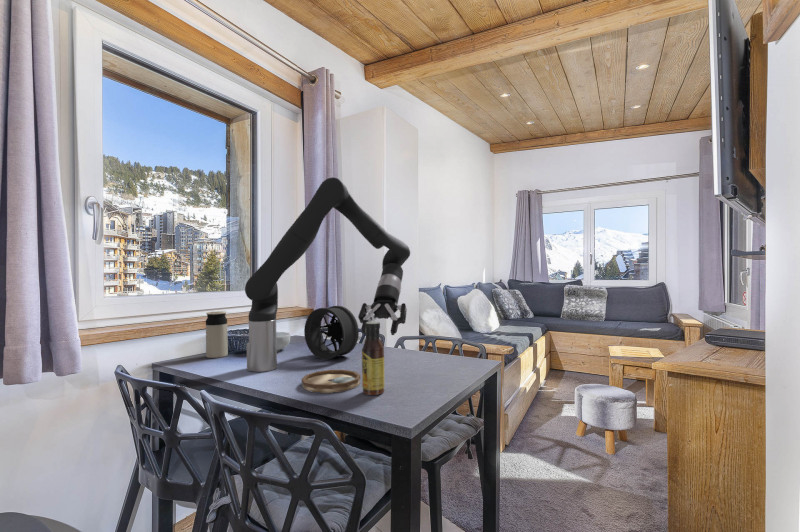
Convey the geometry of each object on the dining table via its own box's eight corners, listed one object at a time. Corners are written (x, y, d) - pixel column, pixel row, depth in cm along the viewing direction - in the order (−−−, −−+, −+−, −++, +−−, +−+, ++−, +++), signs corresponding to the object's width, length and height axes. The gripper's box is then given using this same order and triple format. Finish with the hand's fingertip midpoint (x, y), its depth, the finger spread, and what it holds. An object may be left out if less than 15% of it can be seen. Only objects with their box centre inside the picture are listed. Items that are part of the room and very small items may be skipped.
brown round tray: (294, 392, 114) (294, 385, 114) (312, 376, 131) (312, 369, 131) (353, 393, 112) (353, 385, 112) (364, 376, 129) (363, 369, 129)
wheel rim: (359, 357, 157) (358, 306, 157) (344, 362, 149) (343, 308, 149) (320, 352, 167) (319, 304, 167) (304, 357, 159) (303, 306, 159)
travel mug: (225, 357, 160) (224, 312, 161) (203, 359, 159) (203, 313, 159) (229, 353, 168) (229, 310, 168) (209, 354, 167) (208, 311, 167)
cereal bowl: (284, 354, 165) (284, 337, 165) (243, 355, 165) (243, 338, 165) (295, 346, 182) (294, 330, 182) (258, 347, 182) (257, 331, 182)
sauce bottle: (362, 389, 115) (361, 320, 115) (384, 388, 116) (383, 320, 116) (362, 397, 109) (361, 323, 109) (385, 396, 109) (384, 323, 109)
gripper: (364, 283, 127) (351, 325, 116) (407, 283, 124) (399, 325, 113) (369, 299, 133) (358, 340, 121) (411, 299, 129) (404, 341, 118)
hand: (378, 333), depth 117 cm, fingers open, 8 cm apart
